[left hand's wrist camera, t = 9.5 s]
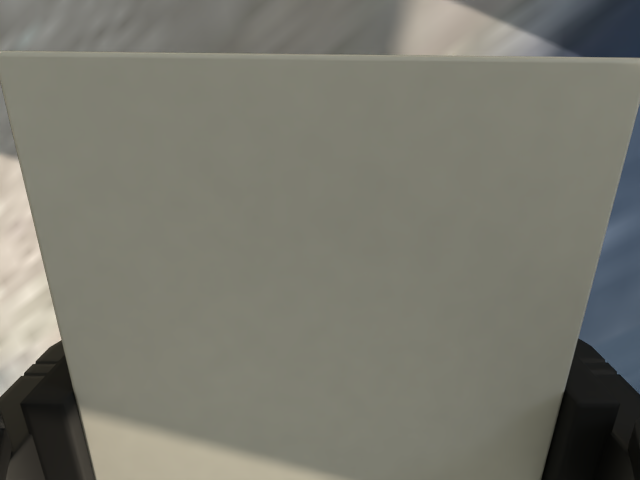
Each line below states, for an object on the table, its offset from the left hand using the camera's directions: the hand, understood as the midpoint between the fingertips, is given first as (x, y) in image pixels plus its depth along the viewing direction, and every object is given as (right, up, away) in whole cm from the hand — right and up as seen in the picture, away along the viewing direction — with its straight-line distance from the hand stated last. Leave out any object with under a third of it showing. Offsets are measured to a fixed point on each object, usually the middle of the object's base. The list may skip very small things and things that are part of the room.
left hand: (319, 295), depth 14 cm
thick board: (0, -27, +11) cm, 30 cm away
